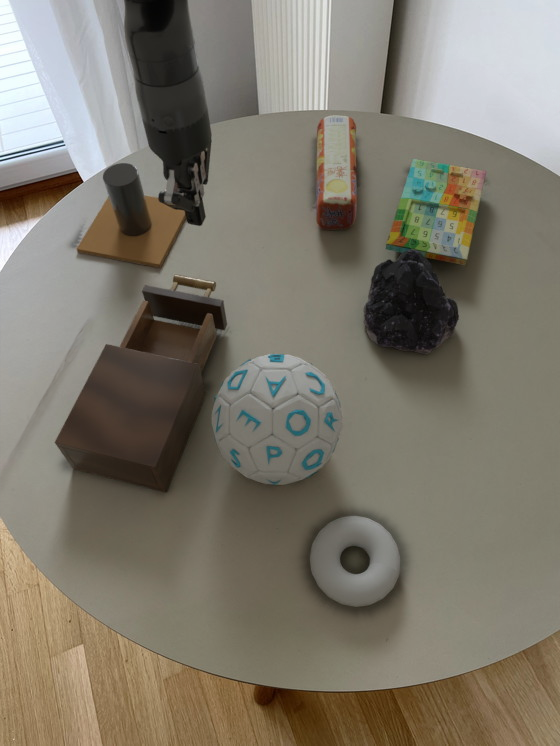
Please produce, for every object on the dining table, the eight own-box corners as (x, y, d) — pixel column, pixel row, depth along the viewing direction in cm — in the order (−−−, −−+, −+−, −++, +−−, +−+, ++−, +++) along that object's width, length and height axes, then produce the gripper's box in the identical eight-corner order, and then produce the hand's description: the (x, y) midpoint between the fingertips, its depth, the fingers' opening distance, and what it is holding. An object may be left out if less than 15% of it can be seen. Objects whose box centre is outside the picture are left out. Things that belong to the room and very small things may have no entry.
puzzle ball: (213, 502, 78) (195, 444, 65) (226, 395, 86) (212, 325, 74) (340, 507, 77) (346, 449, 65) (340, 398, 85) (346, 328, 73)
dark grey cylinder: (113, 233, 103) (96, 183, 95) (126, 211, 106) (111, 160, 97) (144, 239, 102) (129, 188, 94) (156, 216, 105) (143, 165, 96)
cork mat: (77, 252, 102) (76, 248, 101) (113, 193, 109) (112, 189, 109) (160, 268, 99) (159, 264, 99) (191, 206, 107) (190, 202, 106)
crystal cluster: (427, 378, 87) (448, 332, 79) (340, 331, 91) (352, 283, 83) (465, 316, 94) (488, 268, 86) (383, 275, 98) (398, 225, 90)
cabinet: (119, 374, 89) (105, 343, 83) (206, 393, 87) (198, 363, 81) (72, 468, 81) (54, 442, 75) (166, 492, 79) (155, 467, 73)
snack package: (356, 232, 102) (358, 199, 96) (313, 232, 102) (314, 199, 97) (354, 146, 114) (357, 112, 108) (316, 146, 114) (317, 112, 109)
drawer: (163, 287, 96) (156, 262, 92) (236, 302, 94) (232, 277, 90) (114, 385, 87) (104, 363, 82) (195, 403, 85) (189, 381, 80)
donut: (310, 521, 76) (309, 609, 71) (310, 510, 73) (309, 600, 68) (395, 523, 76) (401, 611, 70) (399, 511, 73) (405, 602, 67)
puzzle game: (487, 166, 103) (468, 255, 92) (481, 189, 106) (461, 278, 96) (414, 153, 105) (386, 239, 95) (410, 177, 109) (383, 262, 98)
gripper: (163, 69, 77) (187, 185, 91) (119, 137, 70) (152, 251, 85) (223, 76, 76) (238, 193, 90) (184, 147, 69) (206, 261, 83)
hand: (196, 221), depth 87 cm, fingers closed
